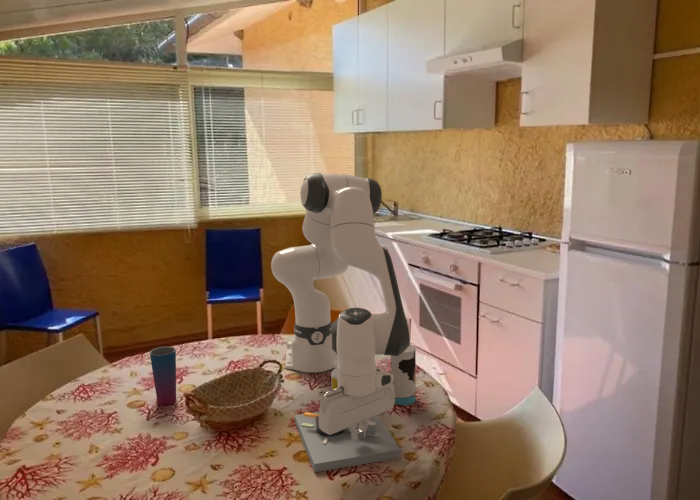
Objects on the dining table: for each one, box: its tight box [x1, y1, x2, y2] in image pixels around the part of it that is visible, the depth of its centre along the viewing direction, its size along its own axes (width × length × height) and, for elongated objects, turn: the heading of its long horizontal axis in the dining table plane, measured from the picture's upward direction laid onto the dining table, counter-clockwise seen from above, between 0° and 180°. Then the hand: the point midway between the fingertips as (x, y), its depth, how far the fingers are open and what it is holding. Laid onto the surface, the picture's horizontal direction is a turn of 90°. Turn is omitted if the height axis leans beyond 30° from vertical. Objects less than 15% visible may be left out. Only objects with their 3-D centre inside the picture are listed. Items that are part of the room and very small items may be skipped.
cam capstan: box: [303, 411, 377, 437], centre depth 140 cm, size 18×7×3 cm, turn 70°
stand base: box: [294, 411, 402, 473], centre depth 139 cm, size 24×20×13 cm
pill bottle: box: [330, 359, 339, 391], centre depth 160 cm, size 6×6×12 cm
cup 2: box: [390, 344, 417, 406], centre depth 160 cm, size 7×7×15 cm
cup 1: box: [149, 346, 177, 407], centre depth 162 cm, size 7×7×15 cm
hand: (358, 438), depth 134 cm, fingers closed
